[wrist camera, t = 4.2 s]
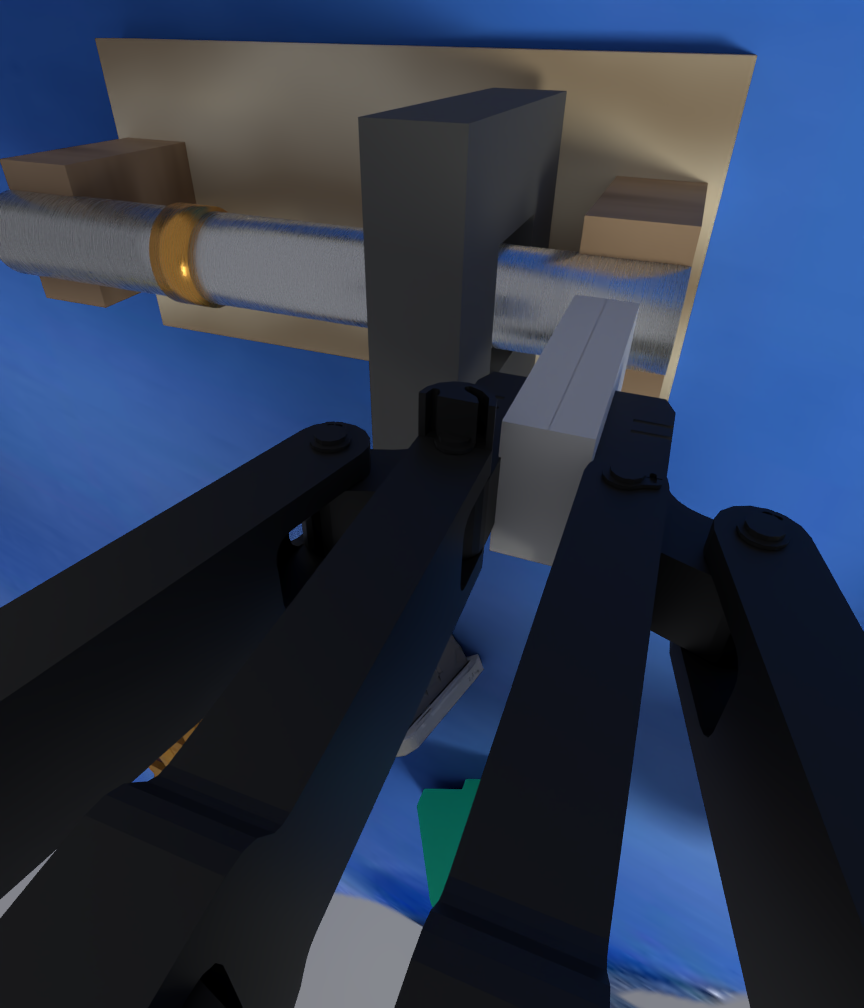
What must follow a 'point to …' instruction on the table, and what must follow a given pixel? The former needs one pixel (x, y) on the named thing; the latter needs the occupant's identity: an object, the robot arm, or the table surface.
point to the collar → (448, 237)
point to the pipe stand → (336, 156)
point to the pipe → (312, 268)
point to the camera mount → (443, 830)
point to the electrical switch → (441, 693)
